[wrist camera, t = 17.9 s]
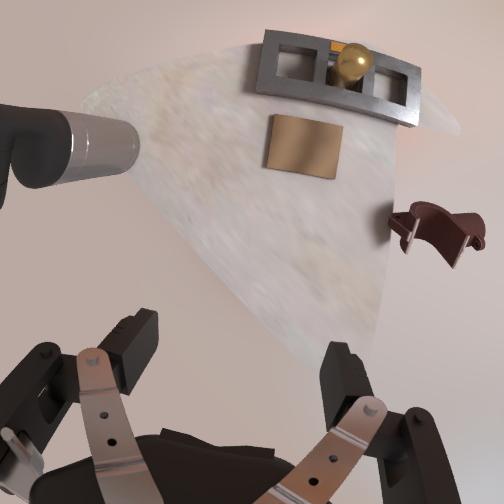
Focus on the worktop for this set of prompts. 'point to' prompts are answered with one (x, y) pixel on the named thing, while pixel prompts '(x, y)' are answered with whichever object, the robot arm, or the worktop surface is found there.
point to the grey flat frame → (333, 95)
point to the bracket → (439, 230)
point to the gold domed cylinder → (350, 66)
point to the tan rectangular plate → (304, 146)
